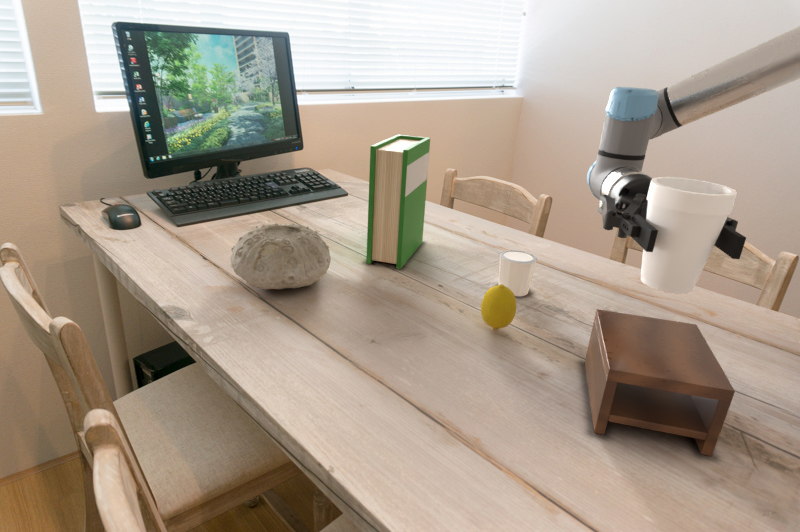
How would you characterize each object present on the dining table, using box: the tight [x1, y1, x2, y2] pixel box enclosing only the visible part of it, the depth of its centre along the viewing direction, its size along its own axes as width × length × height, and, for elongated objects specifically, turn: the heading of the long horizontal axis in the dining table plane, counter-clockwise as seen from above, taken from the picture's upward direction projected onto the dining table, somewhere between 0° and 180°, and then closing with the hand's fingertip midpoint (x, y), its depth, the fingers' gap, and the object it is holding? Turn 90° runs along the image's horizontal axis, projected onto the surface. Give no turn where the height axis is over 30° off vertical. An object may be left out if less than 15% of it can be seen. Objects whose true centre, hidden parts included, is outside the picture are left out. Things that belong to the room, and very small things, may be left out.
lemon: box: [480, 284, 517, 331], centre depth 84 cm, size 6×6×8 cm
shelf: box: [584, 308, 736, 457], centre depth 68 cm, size 13×16×9 cm
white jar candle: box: [497, 249, 538, 297], centre depth 100 cm, size 7×7×7 cm
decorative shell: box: [229, 223, 332, 291], centre depth 97 cm, size 18×18×10 cm
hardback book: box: [365, 134, 431, 270], centre depth 112 cm, size 18×7×24 cm, turn 163°
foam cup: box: [639, 176, 738, 295], centre depth 66 cm, size 10×9×13 cm
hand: (695, 244), depth 62 cm, fingers closed on foam cup, 9 cm apart
